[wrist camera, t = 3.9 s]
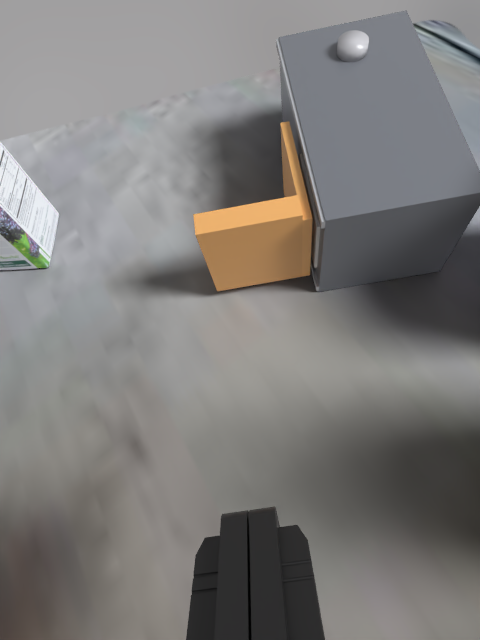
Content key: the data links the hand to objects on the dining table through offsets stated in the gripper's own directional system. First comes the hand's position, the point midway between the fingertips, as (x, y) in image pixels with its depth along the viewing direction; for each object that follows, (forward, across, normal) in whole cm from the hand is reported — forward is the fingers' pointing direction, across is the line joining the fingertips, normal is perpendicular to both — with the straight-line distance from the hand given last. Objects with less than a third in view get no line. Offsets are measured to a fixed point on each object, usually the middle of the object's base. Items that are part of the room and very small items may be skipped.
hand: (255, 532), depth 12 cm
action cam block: (+28, +10, +5) cm, 30 cm away
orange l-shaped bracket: (+25, +1, +3) cm, 25 cm away
